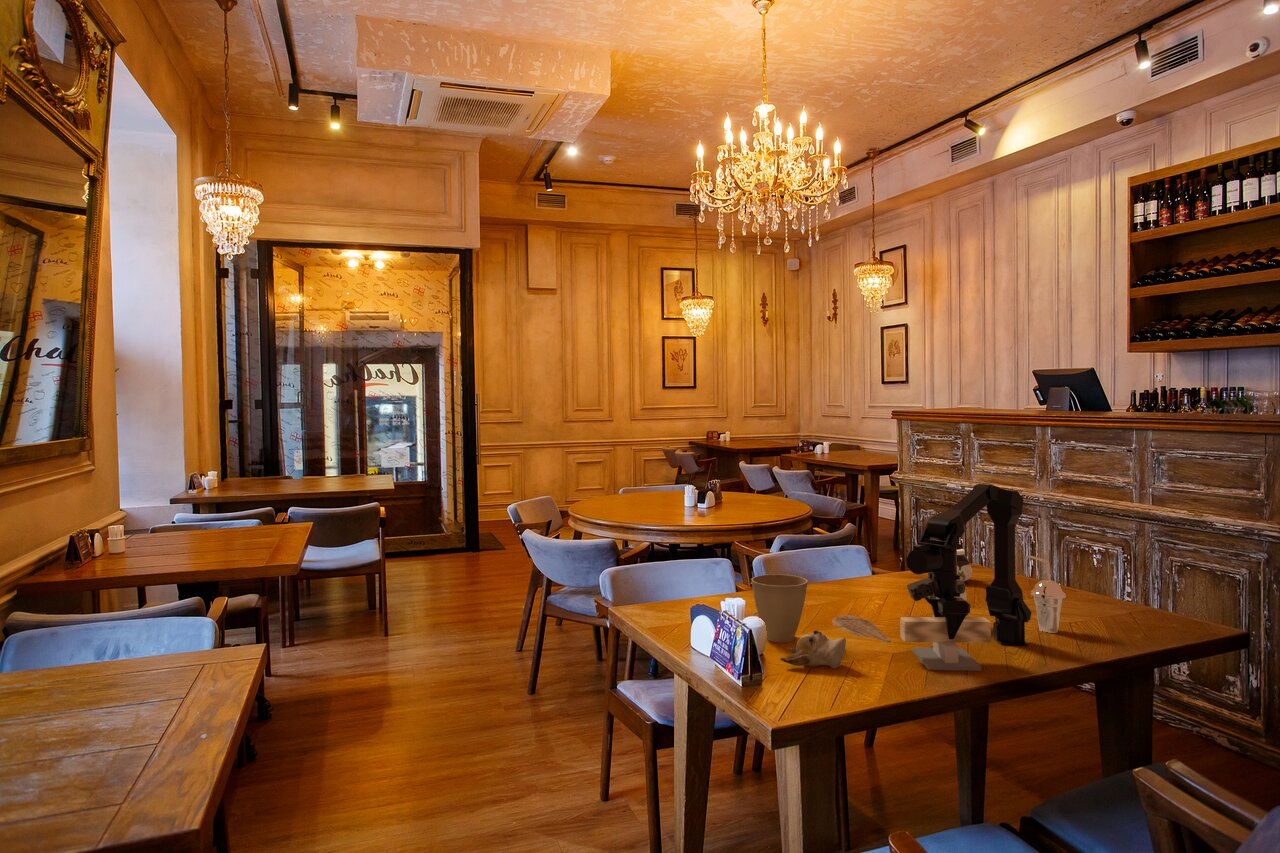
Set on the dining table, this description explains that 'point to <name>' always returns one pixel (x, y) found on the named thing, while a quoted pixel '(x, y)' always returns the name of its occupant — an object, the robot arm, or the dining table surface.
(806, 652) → the ceramic sculpture
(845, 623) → the fish fossil
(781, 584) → the plant pot
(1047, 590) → the cup with straw
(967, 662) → the fulcrum
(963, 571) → the spread jar
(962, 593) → the jar
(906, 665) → the dining table surface
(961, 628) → the beech bar
